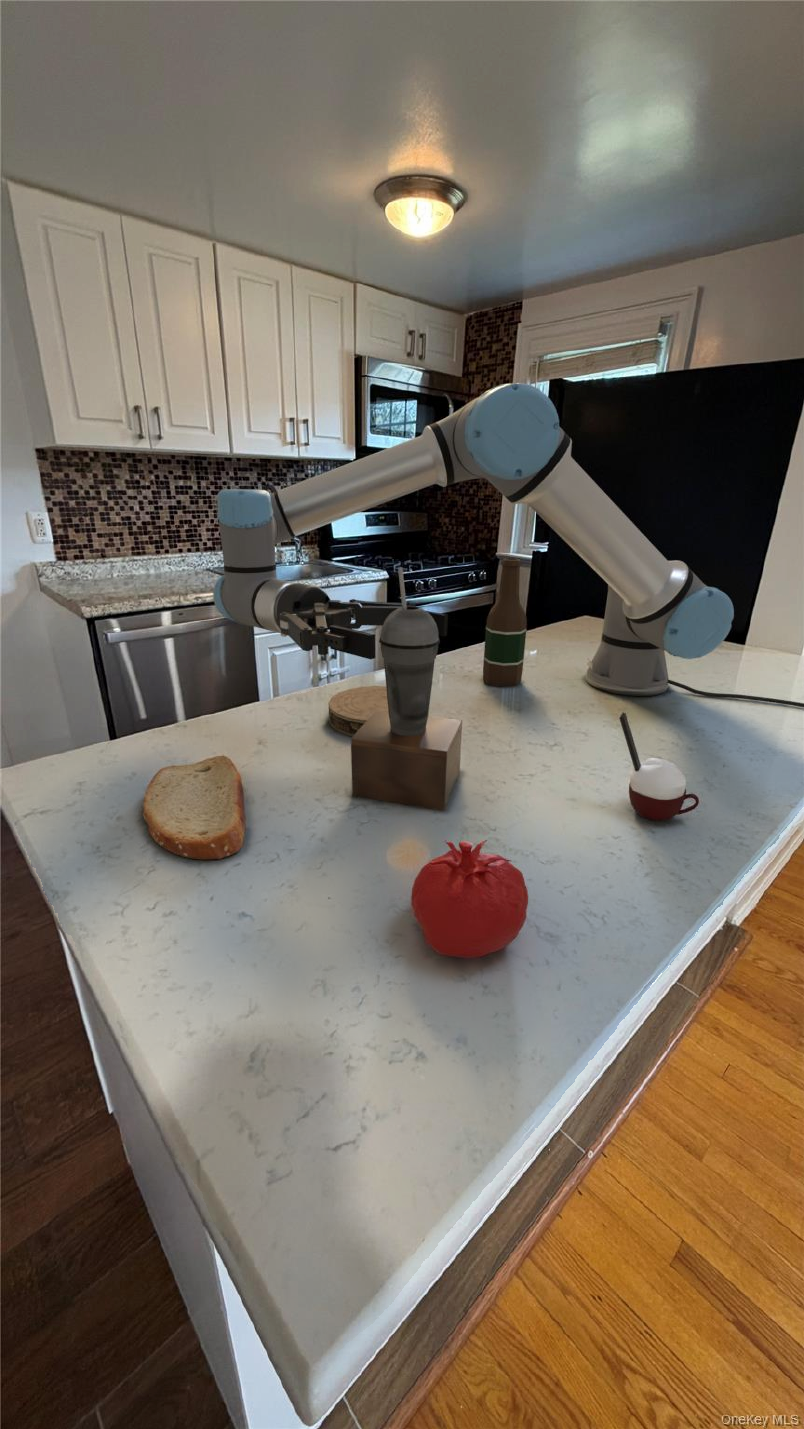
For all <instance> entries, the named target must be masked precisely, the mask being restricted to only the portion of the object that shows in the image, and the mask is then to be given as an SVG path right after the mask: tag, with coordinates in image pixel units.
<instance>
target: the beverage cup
mask: <svg viewBox="0 0 804 1429" xmlns="http://www.w3.org/2000/svg"><path fill="white" fill-rule="evenodd" d="M397 570H398V579H399V580H398V581H399V588H400V589H399V590H400V599H401V603H402V607H400V608H398V609H396V610H394V611H393V612H392V613H391V614H389V616H388V617H387V618H386V620H385V622H384V624H383V626H381V631H380V637H379V640H378V643H380V651H381V656H382V659H383V663H384V664H383V665H384V666H383V667H384V676H385V686H386V689H387V700H388V711H389V719H390V724H391V731H392V732H394V733H395V734H398V735H402V736H416V735H420V734H422V733H424V732H425V731H426V724H427V719H428V716H429V711H430V704H431V696H432V695H431V694H432V686H433V678H434V677H433V676H434V670H435V669H434V668H435V662H436V661H435V660H436V659H437V654H438V650H439V644H440V643H441V640H440V636H439V635H438V629H437V625H436V623H435V621H434V619H433V618H432V616H431V615H430V614H429V613H428V612H426V611H427V610H425V609H424V608H421V607H419V606H417V605H416V606H406V604H407V597H406V589H405V580H404V579H405V578H404V570H403V567H401V566H400V567H397Z"/></svg>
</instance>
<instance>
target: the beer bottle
mask: <svg viewBox="0 0 804 1429" xmlns="http://www.w3.org/2000/svg"><path fill="white" fill-rule="evenodd" d="M500 565H501V566H502V567H501V575H500V583H499V590H498V596H497V599H496V602H495V603H494V605H492V607H491V608H490V611H489V613H488V615H487V618H486V623H485V624H486V625H485V634H484V651H483V664H482V665H483V666H482V679H483V681H484V682H485V683H486V684H487V685H490V686H493V687H500V688H507V687H510V688H511V687H515V686H517V685H518V684H520V683H521V681H522V676H523V670H524V660H525V649H526V648H525V647H526V639H527V628H528V627H527V626H528V624H527V623H528V621H527V615H526V610H525V609H524V607H523V605H522V604H521V601H520V576H521V574H520V573H521V571H520V570H521V566H523V565H522V560H521V559H520V558H517V557H516V558H515V557H505V558H503V559H502V560H501V563H500Z"/></svg>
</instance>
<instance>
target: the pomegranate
mask: <svg viewBox="0 0 804 1429" xmlns="http://www.w3.org/2000/svg"><path fill="white" fill-rule="evenodd" d="M487 841H488V839H485V840H483V841H481V842H480V843H478V844H476V846H475V847H474V848H473V845H474V844H473V843H470V842H468V841H459V843H458V847H459V849H457V848H456V846H455V845H454V843H453V842H452V841H447V840H444V843H445V844H446V845H447V847H449V850H448V851H447V852H445V853H444V854H441V855H439V856H437V857H435V858H433V859H430V861H429V862H428V863H426V864H425V865H423V866H422V867H421V869H420V870H419V872H418V873H417V875H416V876H415V878H414V880H413V883H412V887H411V893H410V894H411V895H410V906H411V908H412V913H413V915H414V917H415V920H416V921H417V923H418V924H419V927H421V929H422V933H423V935H424V938H425V941H426V942H427V944H428V945H429V946H430V947H431V948H432V949H433V950H434V951H435V952H436V953H438V954H441V955H443V956H445V957H446V956H447V957H459V958H470V959H472V958H473V959H474V958H481V957H483V956H485V955H488V954H491V953H494V952H498V951H501V950H502V949H503V948H505V947H507V946H508V945H510V944H511V943H512V942H513V941H514V940H515V939H516V938H517V937H518V935H519V933H520V931H521V930H522V928H523V926H524V924H525V922H526V919H527V910H528V906H529V891H528V887H527V885H526V880H525V877H524V874H523V873H522V871H521V870H520V869H519V868H518V867H515V866H514V864H512V863H511V862H512V859H507V858H505V857H503V856H501V855H499V854H495V853H488V852H487V853H486V852H481V849H482V847H483V845H484V844H485V843H486V842H487Z"/></svg>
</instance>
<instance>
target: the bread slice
mask: <svg viewBox="0 0 804 1429" xmlns="http://www.w3.org/2000/svg"><path fill="white" fill-rule="evenodd" d="M236 767H237V766H235V764H234V763H233V761H232V760H231V758H229V757H228V756H226V755H224V754H223V755H215V756H213V757H208V758H205V759H203V760H201V761H197V762H195V763H191V764H181V765H169V766H165V767H162V768H160V769H159V770H158V771H157V772H156V773H155V774H154V776H153V777H152V779H151V780H150V782H149V783H148V785H147V787H146V788H145V794H144V796H143V798H142V810H143V812H142V815H143V819H144V821H145V822H146V824H147V825H148V833H149V835H150V836H151V838H152V839H153V841H154V842H156V843H158V844H159V845H160V847H162V848H163V849H164V850H166V851H168V852H170V853H172V854H174V855H178V856H180V857H183V858H188V859H194V860H215V859H216V860H221V859H222V858H223V859H224V858H226V857H229V856H231V855H234V854H236V853H238V852H240V850H241V848H242V846H243V844H244V836H245V830H246V814H245V792H244V786H243V779H242V777H241V774H240V772H239V771H238V769H237V768H236Z"/></svg>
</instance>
